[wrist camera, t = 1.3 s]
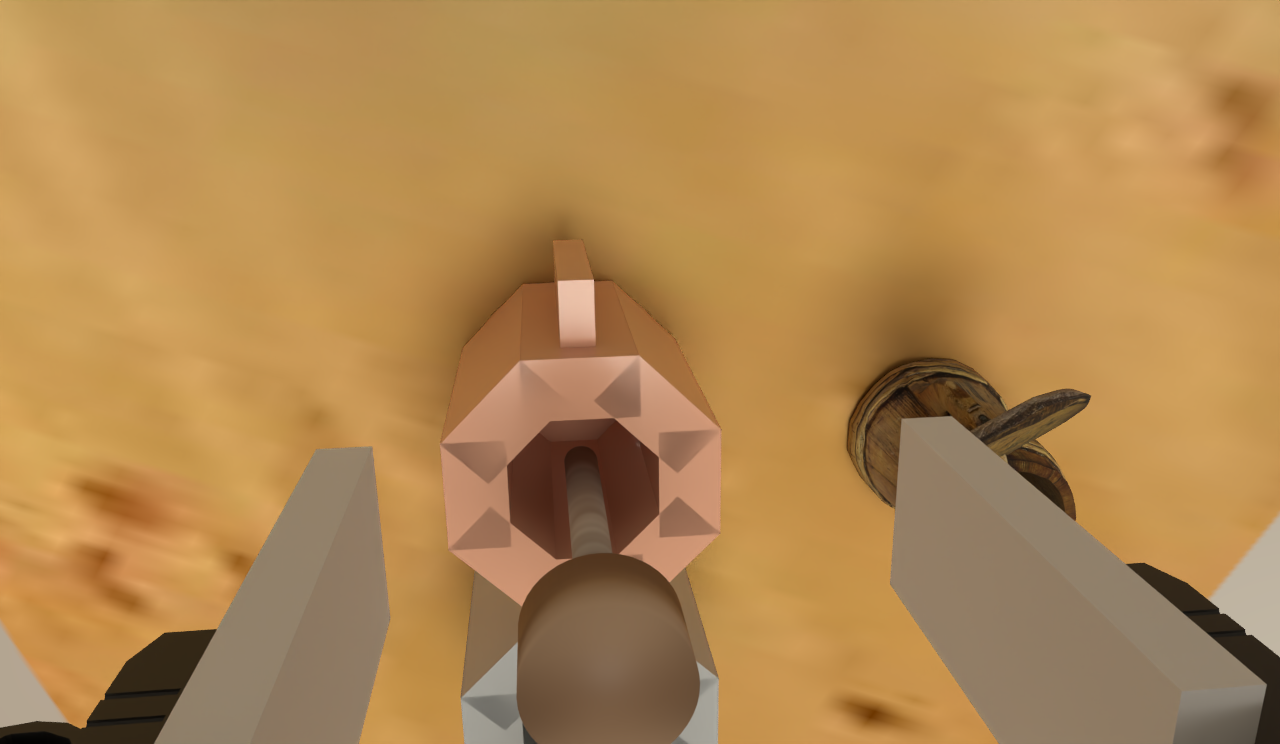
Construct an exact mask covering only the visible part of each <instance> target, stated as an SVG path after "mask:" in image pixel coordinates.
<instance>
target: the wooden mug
mask: <svg viewBox="0 0 1280 744" xmlns="http://www.w3.org/2000/svg"><path fill="white" fill-rule="evenodd" d="M1090 397H1091V396H1090V395H1089V394H1086V393H1083V392H1080V391H1077V390H1074V389H1061V390H1056V391H1053V392H1049V393H1046V394H1042V395H1039V396H1036V397H1033V398H1031V399H1029V400H1027V401H1025V402H1023V403H1021V404H1019V405H1017V406H1016V407H1014V408H1012V409H1010V410H1008V409H1007V406H1006V404H1005V403H1004V401H1003V399H1002V397H1001V396H1000V395H999V394H998V393H997V392H996V391H995V390H994V389H993V387H992V386H991V385H990V384H989V383H988V382H987V381H986V380H985V379H984V378H983V377H981V376H980V375H979V374H978V373H977V372H976V371H975V370H974V369H973V368H970V367H968V366H966V365H964V364H962V363H959V362H957V361H955V360H949V359H926V360H921V361H916V362H912V363H909V364H906V365H902V366H900V367H898V368H896V369H894V370H892V371H890V372H889V373H888V374H886V375H885V376H884V377H883V378H882V379H881V380H879V381H878V382H877V383H876V384H875V385H874V386H873V387H872V388H871V389H870V391H869V392H868V393H867V394H866V395H865V397H864V398H863V399H862V400H861V402H860V403H859V405H858V407H857V409H856V411H855V413H854V415H853V417H852V418H851V420H850V426H849V438H848V452H849V454H850V457H851V459H852V461H853V464H854V465H855V467H856V469H857V471H858V473H859V475H860V477H861V478H862V479H863V480H864V481H865V482H866V483H867V485H868V486H869V487H870V488H871V489H872V490H873V491H874V492H875V493H876V495H877V496H878V497H879V498H880V499H881V500H882V501H883V502H884V503H885V504H887V505H889V506H891V507H892V508H894V509H895V507H896V493H897V479H898V464H899V450H900V435H901V421H902V419H907V418H926V417H945V416H952V417H953V418H954V419H956V420H957V421H958V422H959V423H960V424H961V425H963V426H964V427H965V428H966V429H967V430H968V431H970V432H971V433H972V434H973V435H974V436H975V437H977V438H978V439H979V440H980V441H981V442H983V443H984V444H985V445H986V446H987V447H988V448H990V449H991V450H992V451H993V452H994V453H995V454H997V455H998V456H999V457H1000V458H1001V459H1003V460H1004V461H1005V462H1006V463H1007V464H1008V465H1010V466H1011V467H1012V468H1013V469H1014V470H1015V471H1017V472H1018V473H1019V474H1020V475H1021V476H1022V477H1024V478H1025V479H1026V480H1027V481H1028V482H1030V483H1031V484H1032V485H1033V486H1034V487H1035V488H1037V489H1038V490H1039V491H1040V492H1041V493H1042V494H1044V495H1045V496H1046V497H1047V498H1048V499H1050V500H1051V501H1052V502H1053V503H1054V504H1055V505H1057V506H1058V507H1059V508H1060V509H1061V510H1062V511H1064V512H1065V513H1066V514H1067V515H1068V516H1069V517H1071V518H1072V519H1073V520H1074V521H1075V520H1076V511H1075V503H1074V499H1073V494H1072V492H1071V490H1070V487H1069V485H1068V483H1067V481H1066V479H1065V477H1064V475H1063V473H1062V471H1061V469H1060V467H1059V466H1058V464H1057V463H1056V461H1055V460H1054V458H1053V457H1052V455H1051V454H1050V453H1049V452H1048V451H1047V450H1046V449H1045V448H1044V447H1043V446H1042V445H1041V444H1040V443H1039V442H1038V441H1037V440H1035V439H1036V438H1038V437H1040V436H1042V435H1044V434H1045V433H1047V432H1049V431H1050V430H1052V429H1054V428H1056V427H1057V426H1059V425H1061V424H1062V423H1064V422H1066V421H1067V420H1069V419H1070V418H1072V417H1073V416H1075V415H1076V414H1077V413H1079V412H1080V411H1082V410H1083V409H1084V408H1085V407H1086V406H1087V405H1088V403H1089V400H1090Z"/></svg>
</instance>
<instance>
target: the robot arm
mask: <svg viewBox="0 0 1280 744" xmlns="http://www.w3.org/2000/svg"><path fill="white" fill-rule="evenodd" d="M890 585H891V586H892V588H893V589H894V591H895V592H896V593H897V595H898V596H899V598H900V599H901V601H902V602H903V604H904V605H905V607H906V608H907V610H908V611H909V612H910V614H911V615H912V617H913V618H914V620H915V621H916V623H917V624H918V626H919V627H920V629H921V630H922V632H923V633H924V634H925V636H926V637H927V639H928V640H929V642H930V643H931V645H932V646H933V648H934V649H935V651H936V652H937V654H938V655H939V656H940V658H941V659H942V661H943V662H944V664H945V665H946V667H947V668H948V670H949V671H950V673H951V674H952V676H953V677H954V678H955V680H956V681H957V683H958V684H959V686H960V687H961V689H962V690H963V692H964V693H965V695H966V696H967V697H968V699H969V700H970V702H971V703H972V705H973V706H974V708H975V709H976V711H977V712H978V714H979V715H980V717H981V718H982V719H983V721H984V722H985V724H986V725H987V727H988V728H989V730H990V731H991V733H992V734H993V736H994V737H995V739H996V740H997V741H998V743H999V744H1280V657H1279V656H1278V655H1276V654H1275V653H1274V652H1273V651H1271V650H1270V649H1269V648H1268V647H1266V646H1265V645H1264V644H1263V643H1261V642H1260V641H1259V640H1257V639H1256V638H1255V637H1254V636H1252V635H1246V633H1245V629H1244V628H1243V627H1241V626H1240V625H1239V624H1238V623H1236V622H1235V621H1234V620H1232V619H1231V618H1230V617H1229V616H1228V615H1226V614H1220V613H1219V608H1218V607H1216V606H1215V605H1214V604H1212V603H1211V602H1210V601H1209V600H1208V599H1206V598H1205V597H1204V596H1203V595H1201V594H1200V593H1199V592H1198V591H1196V590H1195V589H1194V588H1193V587H1191V586H1190V585H1189V584H1188V583H1186V582H1183V581H1181V580H1179V579H1177V578H1175V577H1173V576H1171V575H1169V574H1167V573H1164V572H1162V571H1160V570H1158V569H1156V568H1154V567H1152V566H1150V565H1148V564H1146V563H1134V564H1125V563H1124V562H1122V561H1121V560H1120V559H1119V558H1118V557H1116V556H1115V555H1114V554H1113V553H1112V552H1111V551H1109V550H1108V549H1107V548H1106V547H1105V546H1104V545H1102V544H1101V543H1100V542H1099V541H1098V540H1097V539H1095V538H1094V537H1093V536H1092V535H1091V534H1089V533H1088V532H1087V531H1086V530H1085V529H1084V528H1082V527H1081V526H1080V525H1079V524H1078V523H1077V522H1075V521H1074V520H1073V519H1072V518H1071V517H1069V516H1068V515H1067V514H1066V513H1065V512H1064V511H1062V510H1061V509H1060V508H1059V507H1058V506H1057V505H1055V504H1054V503H1053V502H1052V501H1051V500H1050V499H1048V498H1047V497H1046V496H1045V495H1044V494H1042V493H1041V492H1040V491H1039V490H1038V489H1037V488H1035V487H1034V486H1033V485H1032V484H1031V483H1030V482H1028V481H1027V480H1026V479H1025V478H1024V477H1022V476H1021V475H1020V474H1019V473H1018V472H1017V471H1015V470H1014V469H1013V468H1012V467H1011V466H1010V465H1008V464H1007V463H1006V462H1005V461H1004V460H1003V459H1001V458H1000V457H999V456H998V455H997V454H995V453H994V452H993V451H992V450H991V449H990V448H988V447H987V446H986V445H985V444H984V443H983V442H981V441H980V440H979V439H978V438H977V437H975V436H974V435H973V434H972V433H971V432H970V431H968V430H967V429H966V428H965V427H964V426H963V425H961V424H960V423H959V422H958V421H957V420H956V419H954V418H953V417H952V416H945V417H926V418H907V419H902V421H901V435H900V450H899V464H898V479H897V493H896V507H895V522H894V536H893V550H892V565H891V579H890ZM389 621H390V611H389V602H388V592H387V583H386V573H385V564H384V554H383V545H382V535H381V526H380V516H379V507H378V497H377V488H376V478H375V468H374V459H373V449H372V446H371V447H352V448H332V449H316V451H315V453H314V454H313V456H312V458H311V460H310V462H309V464H308V465H307V467H306V469H305V471H304V473H303V474H302V476H301V478H300V480H299V482H298V483H297V485H296V487H295V489H294V491H293V493H292V494H291V496H290V498H289V500H288V502H287V503H286V505H285V507H284V509H283V511H282V512H281V514H280V516H279V518H278V520H277V522H276V523H275V525H274V527H273V529H272V531H271V532H270V534H269V536H268V538H267V540H266V541H265V543H264V545H263V547H262V549H261V551H260V552H259V554H258V556H257V558H256V560H255V561H254V563H253V565H252V567H251V569H250V571H249V572H248V574H247V576H246V578H245V580H244V581H243V583H242V585H241V587H240V589H239V590H238V592H237V594H236V596H235V598H234V600H233V601H232V603H231V605H230V607H229V609H228V610H227V612H226V614H225V616H224V618H223V619H222V621H221V623H220V625H219V627H218V629H213V630H198V631H184V632H169V633H164V634H162V635H161V636H160V637H159V638H157V639H156V640H155V641H153V642H152V643H151V644H149V645H148V646H147V647H145V648H144V649H143V650H141V651H140V652H139V653H137V654H136V655H135V656H133V657H132V658H131V659H129V660H128V661H127V662H126V663H125V665H124V666H123V668H122V669H121V671H120V672H119V674H118V675H117V677H116V678H115V680H114V681H113V683H112V684H111V686H110V687H109V688H108V690H107V691H106V693H105V700H100V702H99V703H98V705H97V706H96V708H95V709H94V711H93V712H92V714H91V715H90V717H89V718H88V720H87V726H86V728H82V729H80V728H77V727H75V726H73V725H71V724H69V723H60V722H40V721H36V722H30V723H25V724H19V725H14V726H8V727H3V728H0V744H359V740H360V736H361V732H362V728H363V724H364V720H365V716H366V712H367V708H368V704H369V701H370V697H371V693H372V689H373V685H374V681H375V677H376V673H377V669H378V665H379V661H380V657H381V653H382V649H383V645H384V641H385V637H386V633H387V629H388V625H389Z"/></svg>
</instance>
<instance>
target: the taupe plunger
mask: <svg viewBox="0 0 1280 744" xmlns="http://www.w3.org/2000/svg"><path fill="white" fill-rule="evenodd" d="M564 463H565V475H566V487H567V500H568V512H569V524H570V536H571V549H572V559H571V560H568V561H566V562H564V563H562V564H560V565H558V566H556V567H555V568H553V569H552V570H550V571H549V572H547V573H546V574H545V575H544V576H543V577H542V578H541V579H539V581H538V582H537V583H536V584H535V585H534V586H533V588H532V589H531V591H530V592H529V594H528V595H527V597H526V599H525V601H524V603H523V605H522V608H521V612H520V615H519V621H518V649H517V693H516V699H517V707H518V711H519V714H520V718H521V720H522V722H523V724H524V726H525V728H526V730H527V731H528V733H529V734H530V736H531V737H532V738H533V739H534V740H535V742H536V743H537V744H671V743H672V742H673V741H674V740H675V739H676V738H677V737H678V736H679V735H680V734H681V733H682V732H683V730H684V729H685V728H686V726H687V725H688V723H689V722H690V720H691V718H692V716H693V714H694V711H695V709H696V706H697V703H698V698H699V693H700V676H699V671H698V666H697V662H696V659H695V655H694V651H693V648H692V644H691V640H690V637H689V633H688V629H687V626H686V622H685V618H684V615H683V611H682V607H681V604H680V601H679V598H678V596H677V594H676V592H675V590H674V588H673V587H672V585H671V584H670V583H669V581H668V580H667V579H666V578H665V577H664V576H663V575H662V574H661V573H660V572H659V571H658V570H656V569H655V568H653V567H652V566H651V565H649V564H647V563H645V562H643V561H641V560H638V559H636V558H633V557H630V556H626V555H622V554H614V553H612V547H611V541H610V534H609V528H608V522H607V516H606V510H605V504H604V498H603V492H602V486H601V479H600V473H599V467H598V461H597V456H596V454H595V452H594V451H593V450H592V449H590V448H589V447H586V446H577V447H574V448H572V449H571V450H569V451H568V453H567V454H566V456H565V460H564Z"/></svg>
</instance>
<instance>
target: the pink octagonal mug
mask: <svg viewBox="0 0 1280 744" xmlns="http://www.w3.org/2000/svg"><path fill="white" fill-rule="evenodd" d="M553 255H554V279H555V281H554V282H549V283H533V284H522V285H521V286H520V287H519V288H518V289H517V291H516V292H515V293H514V294H513V295H512V296H511V297H510V298H509V299H508V300H507V301H506V302H505V303H504V304H503V305H502V306H501V307H499V308H498V309H497V310H496V311H495V312H494V313H493V314H492V315H491V317H490V318H489V319H488V320H487V322H486V323H485V324H484V326H483V327H482V328H481V329H480V330H479V331H478V332H477V333H476V334H475V335H474V336H473V337H472V338H471V340H470V341H469V342H468V343H467V344H466V345H465V346H464V347H463V349H462V353H461V357H460V362H459V366H458V370H457V374H456V378H455V383H454V387H453V391H452V395H451V399H450V404H449V408H448V412H447V416H446V420H445V425H444V429H443V433H442V437H441V441H440V449H441V462H442V474H443V486H444V498H445V510H446V523H447V535H448V547H449V549H448V550H449V551H450V552H452V553H453V554H454V555H456V556H457V557H458V558H459V559H461V560H462V561H463V562H465V563H466V564H467V565H469V566H470V567H471V568H472V569H474V570H475V571H476V572H478V573H479V574H480V575H482V576H483V577H484V578H485V579H487V580H488V581H489V582H491V583H492V584H493V585H495V586H496V587H497V588H499V589H500V590H501V591H502V592H504V593H505V594H506V595H508V596H509V597H510V598H512V599H513V600H514V601H515V602H517V603H518V604H519V605H521V606H522V605H523V603H524V601H525V599H526V597H527V595H528V594H529V592H530V591H531V589H532V588H533V586H534V585H535V584H536V583H537V582H538V581H539V579H541V578H542V577H543V576H544V575H545V574H546V573H547V572H549V571H550V570H552V569H553V568H555V567H556V566H558V565H560V564H562V563H564V562H566V561H568V560H571V559H572V549H571V536H570V524H569V512H568V500H567V487H566V475H565V463H564V460H565V456H566V454H567V453H568V451H569V450H571V449H572V448H574V447H577V446H586V447H589V448H590V449H592V450H593V451H594V452H595V454H596V456H597V461H598V467H599V473H600V479H601V486H602V492H603V498H604V504H605V510H606V516H607V522H608V528H609V534H610V541H611V547H612V553H614V554H622V555H626V556H630V557H633V558H636V559H638V560H641V561H643V562H645V563H647V564H649V565H651V566H652V567H653V568H655V569H656V570H658V571H659V572H660V573H661V574H662V575H663V576H664V577H665V578H666V579H667V580H668V581H669V582H670V581H672V580H673V579H674V578H675V577H676V576H677V575H678V574H679V573H680V572H681V571H682V570H683V569H684V568H685V567H686V566H687V565H688V564H689V563H690V562H691V561H692V560H693V559H694V558H695V557H696V556H697V555H698V554H699V553H700V552H701V551H703V550H704V549H705V548H706V547H707V546H708V545H709V544H710V543H711V542H712V541H713V540H714V539H715V538H716V537H717V536H718V535H719V534H720V499H721V428H720V426H719V424H718V422H717V420H716V418H715V416H714V414H713V412H712V410H711V408H710V406H709V404H708V402H707V400H706V398H705V396H704V395H703V393H702V391H701V389H700V387H699V385H698V383H697V381H696V379H695V377H694V375H693V373H692V371H691V369H690V367H689V365H688V363H687V361H686V359H685V357H684V355H683V354H682V352H681V350H680V348H679V346H678V344H677V342H676V340H675V338H674V337H672V336H671V335H670V334H669V333H668V332H667V331H666V330H665V329H664V328H663V327H662V326H661V325H660V324H658V323H657V322H656V321H655V320H654V319H653V318H652V317H651V316H650V315H649V314H648V313H647V312H646V311H645V309H644V308H643V307H641V306H640V305H639V304H638V303H636V302H635V301H634V300H633V299H631V298H630V297H629V296H628V295H627V294H626V293H625V292H624V291H623V290H622V289H621V288H620V287H618V286H617V285H616V284H615V283H614V282H613V281H594V279H593V275H592V272H591V268H590V264H589V261H588V257H587V254H586V250H585V247H584V243H583V240H582V239H581V240H553Z"/></svg>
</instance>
